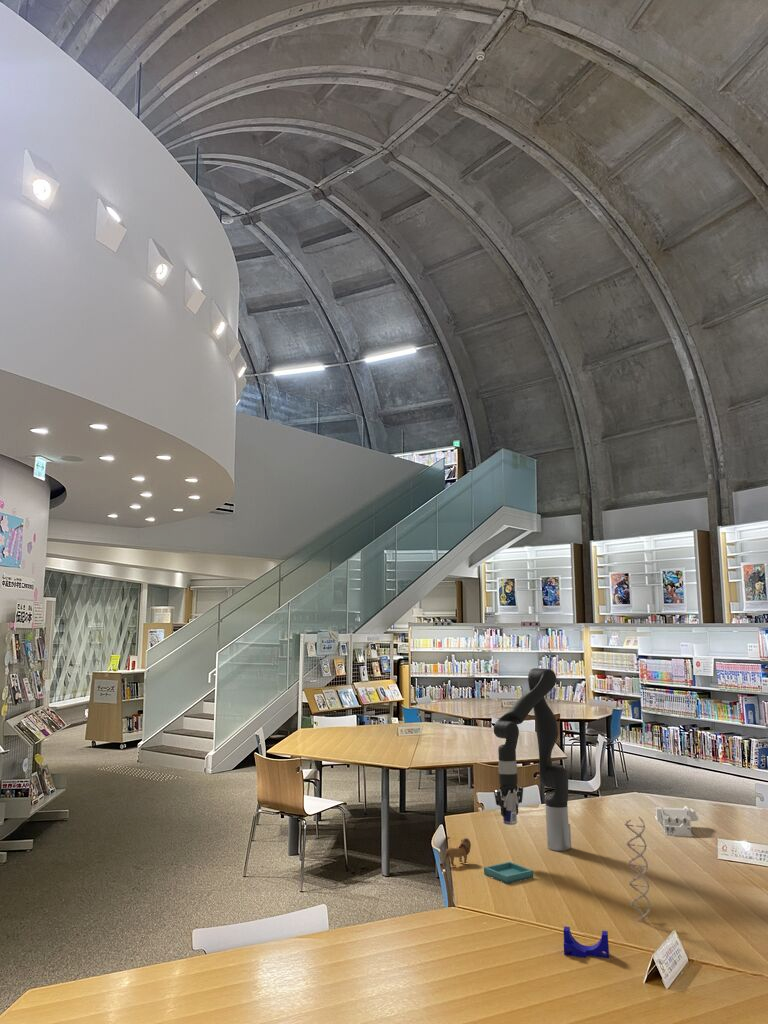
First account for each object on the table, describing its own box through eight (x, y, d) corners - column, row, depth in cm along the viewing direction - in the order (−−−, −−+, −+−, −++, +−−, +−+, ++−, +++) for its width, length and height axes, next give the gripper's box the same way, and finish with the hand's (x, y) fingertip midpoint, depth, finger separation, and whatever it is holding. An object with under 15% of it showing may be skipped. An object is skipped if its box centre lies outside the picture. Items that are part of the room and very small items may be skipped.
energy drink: (501, 821, 287) (500, 790, 289) (514, 821, 287) (513, 790, 289) (505, 825, 281) (503, 793, 283) (518, 824, 282) (517, 793, 284)
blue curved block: (564, 955, 198) (563, 932, 200) (565, 949, 203) (564, 926, 204) (608, 961, 195) (607, 937, 196) (609, 954, 199) (607, 931, 200)
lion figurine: (464, 859, 286) (464, 835, 288) (474, 862, 282) (473, 838, 284) (439, 867, 277) (438, 842, 278) (448, 870, 273) (448, 845, 274)
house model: (661, 835, 319) (659, 812, 321) (655, 824, 338) (653, 803, 340) (706, 837, 315) (704, 814, 317) (697, 826, 334) (695, 804, 336)
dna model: (636, 912, 229) (630, 814, 234) (655, 918, 224) (648, 817, 230) (626, 918, 224) (620, 818, 229) (646, 923, 220) (639, 821, 225)
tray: (510, 868, 274) (509, 861, 274) (533, 877, 263) (533, 870, 264) (484, 874, 267) (483, 867, 268) (506, 884, 256) (506, 876, 257)
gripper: (515, 768, 295) (516, 811, 292) (488, 772, 287) (489, 816, 284) (527, 771, 288) (529, 815, 285) (500, 775, 281) (502, 820, 278)
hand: (509, 815), depth 285 cm, fingers closed on energy drink, 5 cm apart
